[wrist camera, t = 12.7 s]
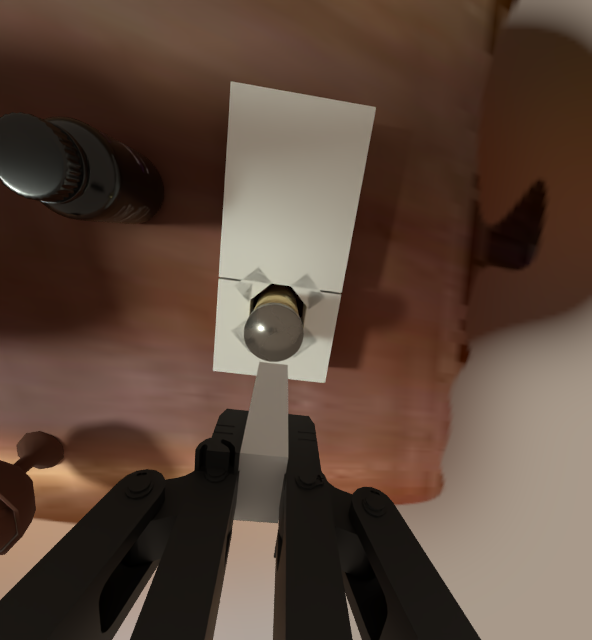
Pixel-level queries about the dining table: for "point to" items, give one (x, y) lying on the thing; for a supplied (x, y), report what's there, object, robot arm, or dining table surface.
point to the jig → (288, 216)
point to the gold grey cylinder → (274, 326)
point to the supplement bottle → (77, 170)
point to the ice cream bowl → (23, 485)
